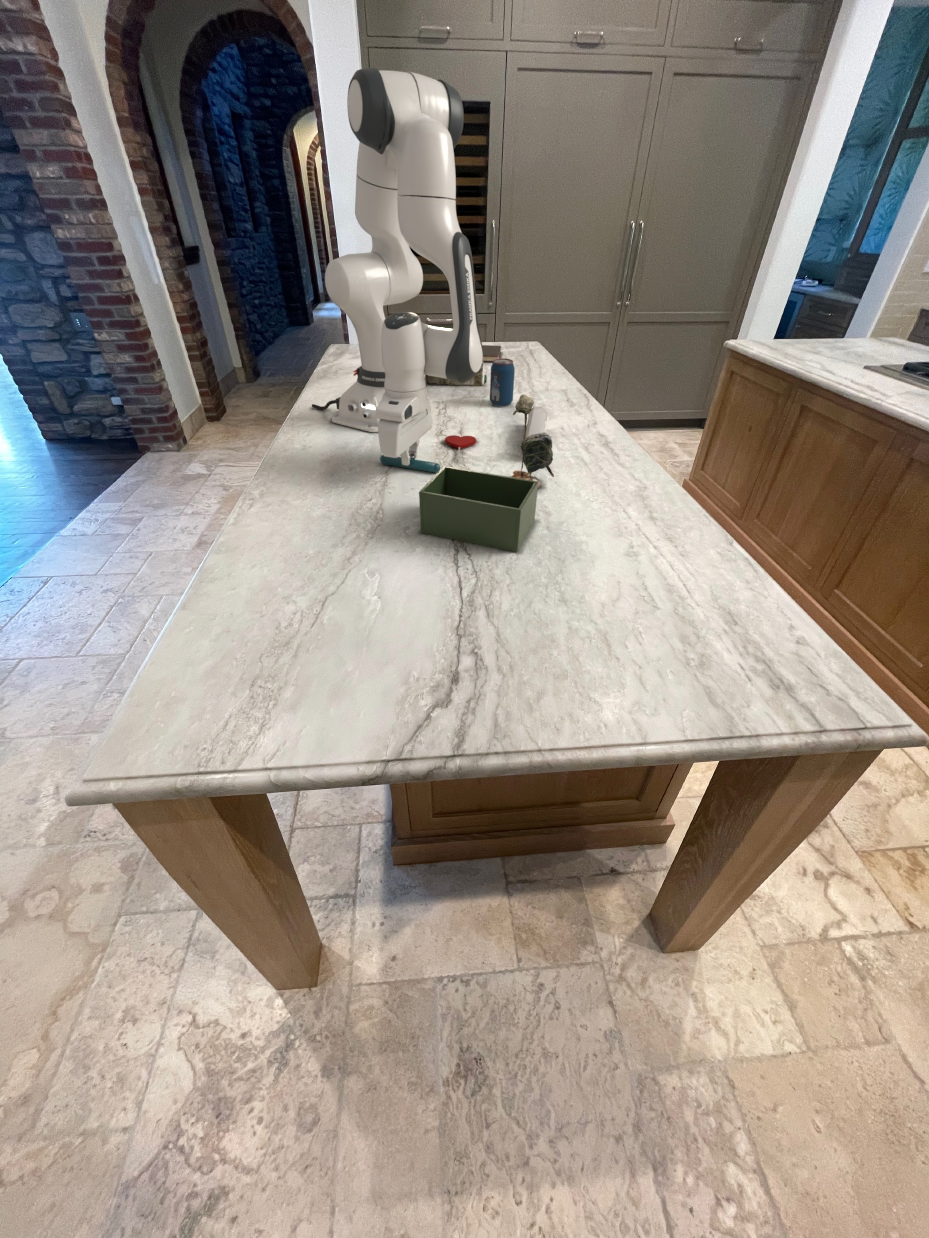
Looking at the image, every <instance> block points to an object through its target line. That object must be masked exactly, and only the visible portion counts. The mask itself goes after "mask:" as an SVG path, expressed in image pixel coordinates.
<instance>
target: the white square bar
mask: <svg viewBox="0 0 929 1238" xmlns="http://www.w3.org/2000/svg"><path fill="white" fill-rule="evenodd" d="M547 420H548V411H547V410H546V409H544V407H542V406H535V405H533V406H532V409H531V411H530V413H529V414H527V423H526V424H527V425H526V427H527V429H526V438H527V437H528V436H530V435H533V434H534V435H535V434H538V433H543V432H544V433H545V428H546V422H547Z"/></svg>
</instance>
